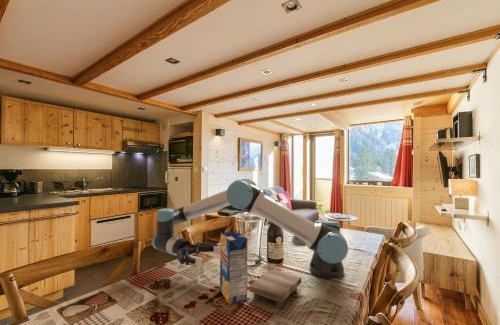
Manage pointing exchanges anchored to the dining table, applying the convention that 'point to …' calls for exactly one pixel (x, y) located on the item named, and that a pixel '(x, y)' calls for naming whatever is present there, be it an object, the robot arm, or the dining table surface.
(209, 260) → the dining table surface
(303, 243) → the ceramic cottage
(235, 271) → the beverage box
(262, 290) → the small low table
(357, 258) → the dining table surface
